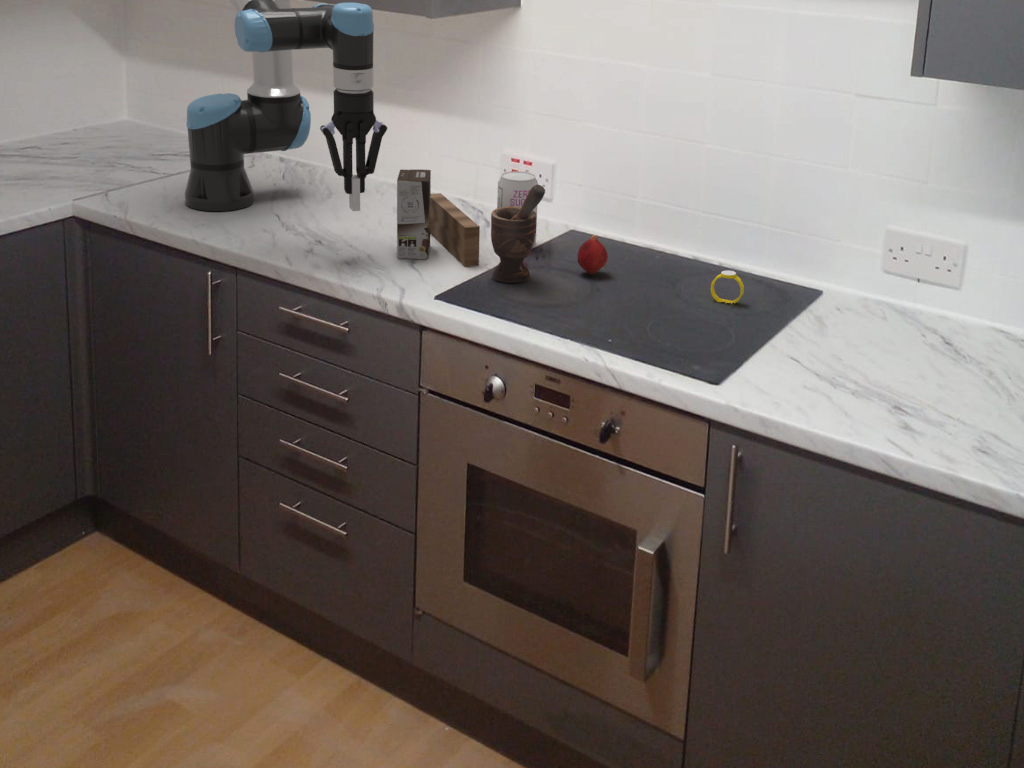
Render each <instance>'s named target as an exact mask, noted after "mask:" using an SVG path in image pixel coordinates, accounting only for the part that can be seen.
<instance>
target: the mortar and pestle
mask: <svg viewBox="0 0 1024 768" xmlns="http://www.w3.org/2000/svg"><path fill="white" fill-rule="evenodd" d="M545 193H546V189H545V187H544V186H542V185H540V184H538V185H535V186H533V187H532V188H531V190H530V191H529V193H528V195H527V197H526V199H525V201H524V203H523V205H522V207H521V208H520V207H515V206H508V207H501V208H497V207H496V208H495V209H493V210H492V211H491V213H490V214H491V215H490V240H491V244H492V248H493V249H492V250H493V252H494V254H495V255H497V257H498V258H499V261H500V262H499V263H498V264H497V265H496V266H495V267H494V269H493V271H492V275H491V277H492V279H493V280H495V281H497V282H499V283H506V284H507V283H509V284H524V283H527V282H529V281H530V279H531V274H530V270H529V268H528V267H527V266H526V265H525V263H524V259H526V258H527V257H528V256H529V255H530V254H531V253H532V250H533V248H534V247H533V244H534V239H535V227H536V228H537V226H536V219H537V220H538V213H537V214H536V213H535V212H534V211H533V209H534V208H535V207H536V206H537V207H538V205H539V204H540V203H541V201H542V200H543V198H544V197H545ZM532 247H533V248H532Z"/></svg>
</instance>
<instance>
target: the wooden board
mask: <svg viewBox="0 0 1024 768" xmlns="http://www.w3.org/2000/svg"><path fill="white" fill-rule="evenodd" d="M430 236H432V237H433V238H434V239H435V240H436V241H437V242H438V243H439V244H440V245H441V246H442V247H444V248H445V250H446V251H448V253H450V254H451V255H452V256H453V257H454V258H455V259H456V260H457V261H458V263H460V264H461V265H462V266H463V267H474V266H475V267H477V266H479V265H480V263H479V262H480V236H481V235H480V225H479V224H477V223H476V222H475V221H474V220H473V219H471V218H470V217H469V216H468V215H466V214H465V212H463V211H462V210H461V209H460V208H459V207H458V206H456V205H455V203H453V202H452V201H451V200H449V199H448V198H447V197H446V196H445V195H443V194H442V193H441V192H440V193H439V192H437V193H431V195H430Z"/></svg>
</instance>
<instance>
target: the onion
mask: <svg viewBox="0 0 1024 768" xmlns="http://www.w3.org/2000/svg"><path fill="white" fill-rule="evenodd" d="M598 238H599V237H598V236H597V234H596V235H595V234H594V235H592V236H591V237H590V238H589V239H587V240H586V241H584V242H583V243H582V244H581V246H579V249H578V251H577V263H578V266H579V267H581V268H582V270H584V271H585V272H587V273H588V274H589V275H595V274H596V273H597V272H598V271H600V270H601V269H602V268H603V267H605V266H606V265H607V264H606V263H607V262H608V252H607V249H606V247H605V245H604V244H603V243H602V242H601V241H599V240H598Z"/></svg>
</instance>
